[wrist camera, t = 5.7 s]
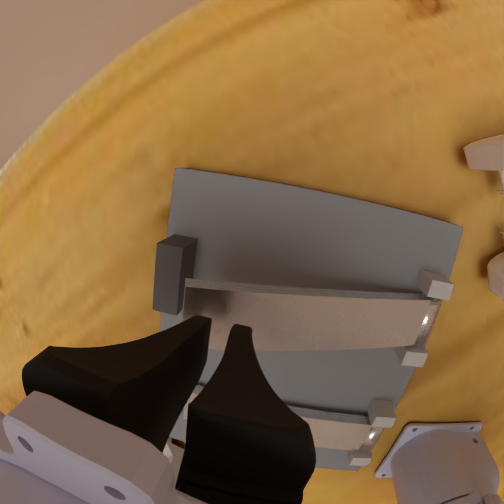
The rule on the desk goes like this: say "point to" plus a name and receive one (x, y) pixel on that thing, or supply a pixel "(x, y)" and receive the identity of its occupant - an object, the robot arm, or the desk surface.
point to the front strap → (310, 316)
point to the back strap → (330, 428)
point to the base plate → (305, 281)
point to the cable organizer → (496, 159)
